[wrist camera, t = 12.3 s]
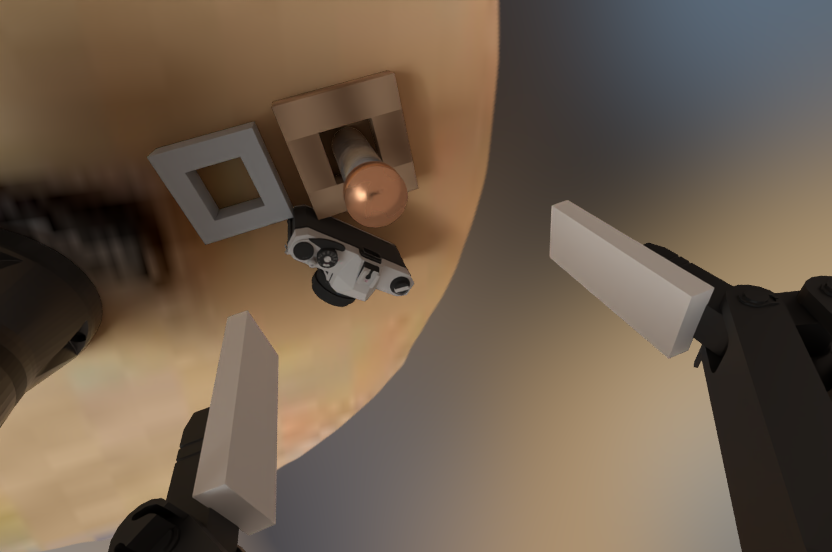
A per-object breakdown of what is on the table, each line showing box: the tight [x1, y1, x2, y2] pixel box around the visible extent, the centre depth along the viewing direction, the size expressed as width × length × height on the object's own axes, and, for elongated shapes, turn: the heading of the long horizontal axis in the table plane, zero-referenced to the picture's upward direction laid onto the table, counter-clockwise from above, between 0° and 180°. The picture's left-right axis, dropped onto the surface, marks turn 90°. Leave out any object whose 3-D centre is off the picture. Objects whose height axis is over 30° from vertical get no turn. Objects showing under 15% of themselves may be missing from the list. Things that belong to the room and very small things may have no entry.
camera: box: [285, 204, 414, 307], centre depth 36 cm, size 13×8×9 cm, turn 59°
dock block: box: [272, 71, 418, 220], centre depth 32 cm, size 10×10×2 cm
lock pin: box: [332, 127, 408, 227], centre depth 28 cm, size 4×4×13 cm
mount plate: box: [147, 121, 293, 245], centre depth 31 cm, size 8×8×2 cm
